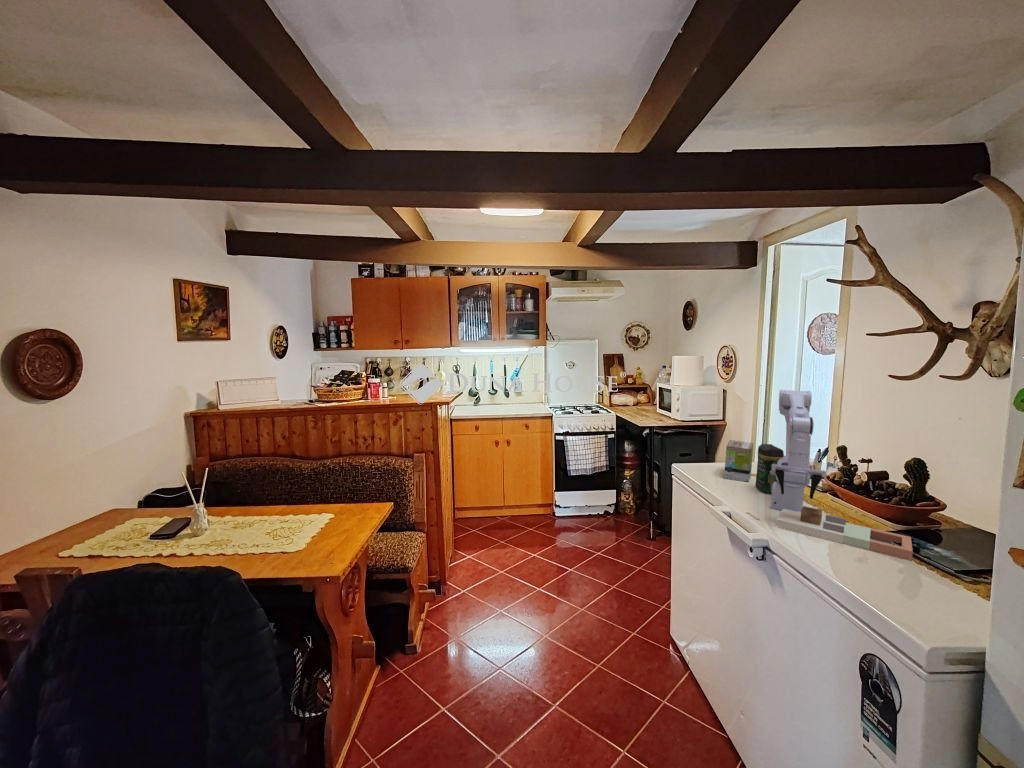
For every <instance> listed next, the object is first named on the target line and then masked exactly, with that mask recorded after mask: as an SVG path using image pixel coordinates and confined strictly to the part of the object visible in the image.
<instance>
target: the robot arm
mask: <svg viewBox="0 0 1024 768" xmlns="http://www.w3.org/2000/svg"><path fill="white" fill-rule="evenodd" d="M778 394H779V395H778V411H779V414H780V415H782V416H784V419H785V423H786V424H785V425H786V427H785V429H786V431H785V433H786V434H785V455H784V456H785V457H783V458H781V459H779V460H778V462H777V465H776V464H772V470H774V471H775V473H776V480H777V481H778V482H774V483H773V487H772V494H771V497H770V498H771V499H770V501H771V503H770V504H771V505H770V508H772V509H775V510H778V511H779V510H780V511H782V509H787V510H791V511H796V512H800V513H801V510H802V508H803V506H804V497H805V496H804V495H805V488H806V487H807V486H809V485H810V491H809V499H811V500H813V499H814V495H815V492H816V490H817V487H818V486H819V485H820V483H821V481H822V479H823V478H827V471H826V470H823V469H822V470H821V469H814V468H810V455H811V436H813V433H814V425H815V424H814V423H815V422H814V418H813V416H810V409H811V406H812V400H813V399H812V398H813V397H812V392H811V390H807V391H806V390H789V389H787V390H786V389H781V390H779V393H778Z"/></svg>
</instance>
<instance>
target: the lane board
mask: <svg viewBox="0 0 1024 768" xmlns="http://www.w3.org/2000/svg"><path fill="white" fill-rule="evenodd" d="M800 519H801V513H800V512H796V511H791V510H787V509H782V510H780V513H778V516H777V518H776V519H775V521H776V522H775V527H776V526H778V527H777V528H779V527H782V528H781V529H783V528H785V529H784V530H787V529H788V531H792V532H796V533H800V534H804V535H807V536H812V537H816V538H819V539H823V540H828V541H832V542H835V543H838V544H840V543H841V544H844V545H848V546H852V547H856V548H860V549H865V550H868V551H871V552H877V553H880V554H885V555H888V556H892V557H897V558H901V559H903V560H904V559H905V560H909V561H913V553H914V552H913V550H914V549H913V544H912V543H913V542H912V537H911V536H908V535H903V534H899V533H894V532H891V531H885V530H881V529H876V528H872V527H867V526H863V525H860V524H859V525H858V524H853V523H849V522H846V521H847V519H846V518H843V517H840V516H835V515H831V514H825V517H824V516H823V517H822V519H821V523H820V526H819V525H815V524H811V523H806V522H802V521H800ZM891 542H896V543H901V546H897V545H893V544H892V543H891Z"/></svg>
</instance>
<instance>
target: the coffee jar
mask: <svg viewBox="0 0 1024 768" xmlns="http://www.w3.org/2000/svg"><path fill="white" fill-rule="evenodd" d="M757 447H758V448H757V466H756V477H755V487H756V488H757V489H758V490H759V491H761V492H762V493H765V494H769V495H772V487H773V483H774V482H778V481H777V480H776V473H775V471H774V470H772V464H776V465H777V462H778V460H779V459H781V458H783V457H784V456H785V455H784V449H782V448H779V447H777V446H776V445H774V444H772V443H771V444H770V443H769V444H768V443H761V444H760V445H759V446H757Z"/></svg>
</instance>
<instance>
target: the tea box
mask: <svg viewBox="0 0 1024 768" xmlns="http://www.w3.org/2000/svg"><path fill="white" fill-rule="evenodd" d="M753 453H754V442H748V441H742V440H740V441H739V440H733V439H730V440H729V441H728V443H727V444H726V450H725V460H724V461H725V462H724V463H725V464H724V473H723V477H724V478H723V479H727V478H728V479H727V480H732V479H734V481H739V480H741V481H740V482H745V481H748V482H749V481H750V479H751V476H752V475H751V474H752V468H753V465H752V463H753Z"/></svg>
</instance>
